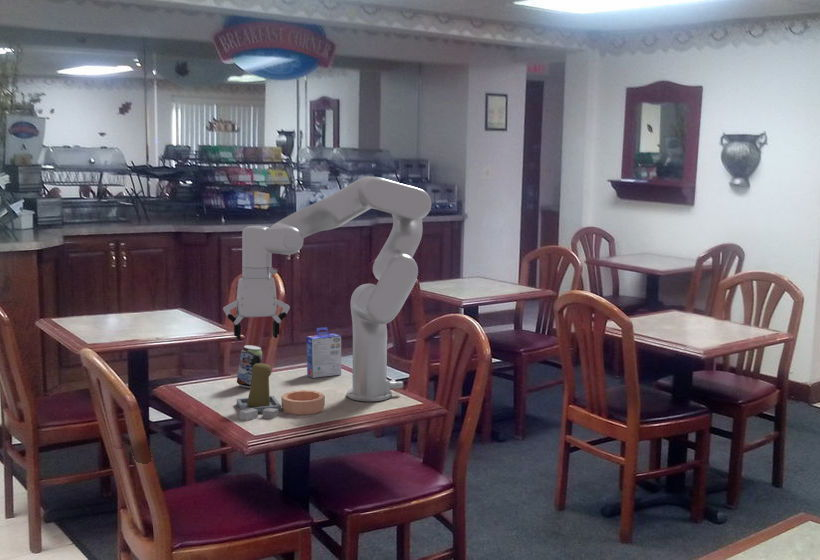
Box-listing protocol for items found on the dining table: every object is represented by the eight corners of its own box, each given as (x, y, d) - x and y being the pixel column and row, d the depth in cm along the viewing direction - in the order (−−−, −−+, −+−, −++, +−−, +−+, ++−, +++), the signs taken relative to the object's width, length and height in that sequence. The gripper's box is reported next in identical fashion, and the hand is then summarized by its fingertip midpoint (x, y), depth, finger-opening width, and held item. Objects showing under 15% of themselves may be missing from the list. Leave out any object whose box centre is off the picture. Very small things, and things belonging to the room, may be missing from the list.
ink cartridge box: (335, 371, 270) (335, 325, 268) (342, 375, 266) (342, 328, 264) (305, 374, 266) (305, 328, 264) (312, 378, 261) (312, 331, 259)
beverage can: (234, 385, 252) (233, 344, 251) (259, 382, 255) (258, 342, 254) (239, 390, 247) (239, 349, 245) (265, 388, 250) (264, 347, 248)
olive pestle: (258, 408, 226) (262, 367, 225) (242, 403, 229) (245, 362, 228) (274, 405, 231) (278, 365, 230) (257, 400, 234) (261, 360, 233)
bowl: (318, 401, 237) (318, 389, 236) (328, 412, 226) (328, 399, 226) (278, 404, 233) (278, 392, 232) (287, 416, 223) (287, 403, 222)
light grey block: (251, 416, 223) (251, 407, 223) (257, 418, 222) (257, 410, 221) (239, 418, 221) (239, 410, 221) (246, 421, 219) (246, 412, 219)
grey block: (278, 416, 223) (278, 409, 223) (273, 419, 221) (273, 411, 221) (267, 415, 224) (267, 407, 224) (262, 417, 222) (262, 410, 222)
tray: (273, 401, 236) (273, 395, 236) (281, 411, 227) (281, 405, 227) (236, 404, 233) (236, 398, 233) (242, 414, 224) (242, 409, 223)
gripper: (287, 271, 232) (286, 333, 234) (221, 272, 226) (221, 336, 228) (292, 274, 225) (292, 339, 227) (225, 276, 219) (225, 342, 221)
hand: (256, 337), depth 228 cm, fingers open, 9 cm apart
